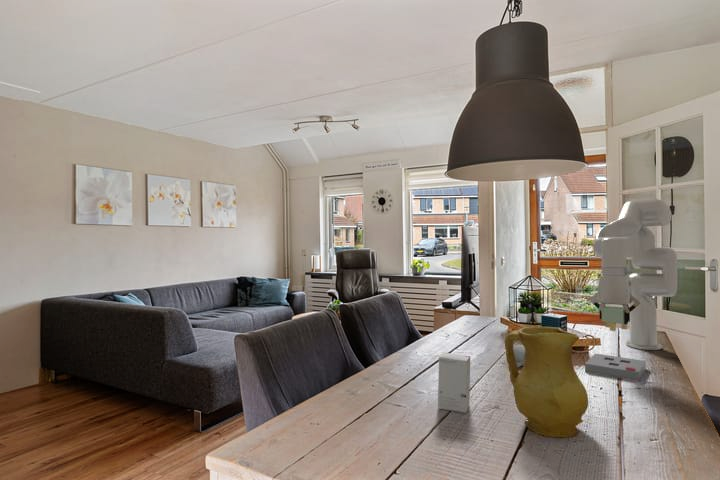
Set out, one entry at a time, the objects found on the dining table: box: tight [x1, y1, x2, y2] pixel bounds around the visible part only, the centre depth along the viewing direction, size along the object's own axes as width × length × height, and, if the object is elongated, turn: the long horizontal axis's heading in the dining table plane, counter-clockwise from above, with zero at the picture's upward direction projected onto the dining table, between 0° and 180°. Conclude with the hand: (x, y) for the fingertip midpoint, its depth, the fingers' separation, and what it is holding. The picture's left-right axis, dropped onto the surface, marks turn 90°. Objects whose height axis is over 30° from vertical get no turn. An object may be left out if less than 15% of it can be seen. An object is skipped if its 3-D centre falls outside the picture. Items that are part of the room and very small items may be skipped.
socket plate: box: [584, 353, 647, 382], centre depth 149 cm, size 16×16×4 cm
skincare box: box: [437, 352, 471, 414], centre depth 120 cm, size 8×6×15 cm
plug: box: [601, 304, 628, 332], centre depth 149 cm, size 8×7×8 cm
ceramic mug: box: [513, 344, 526, 368], centre depth 157 cm, size 11×8×8 cm
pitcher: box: [504, 325, 589, 438], centre depth 108 cm, size 17×19×25 cm
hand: (614, 322), depth 149 cm, fingers closed on plug, 6 cm apart
